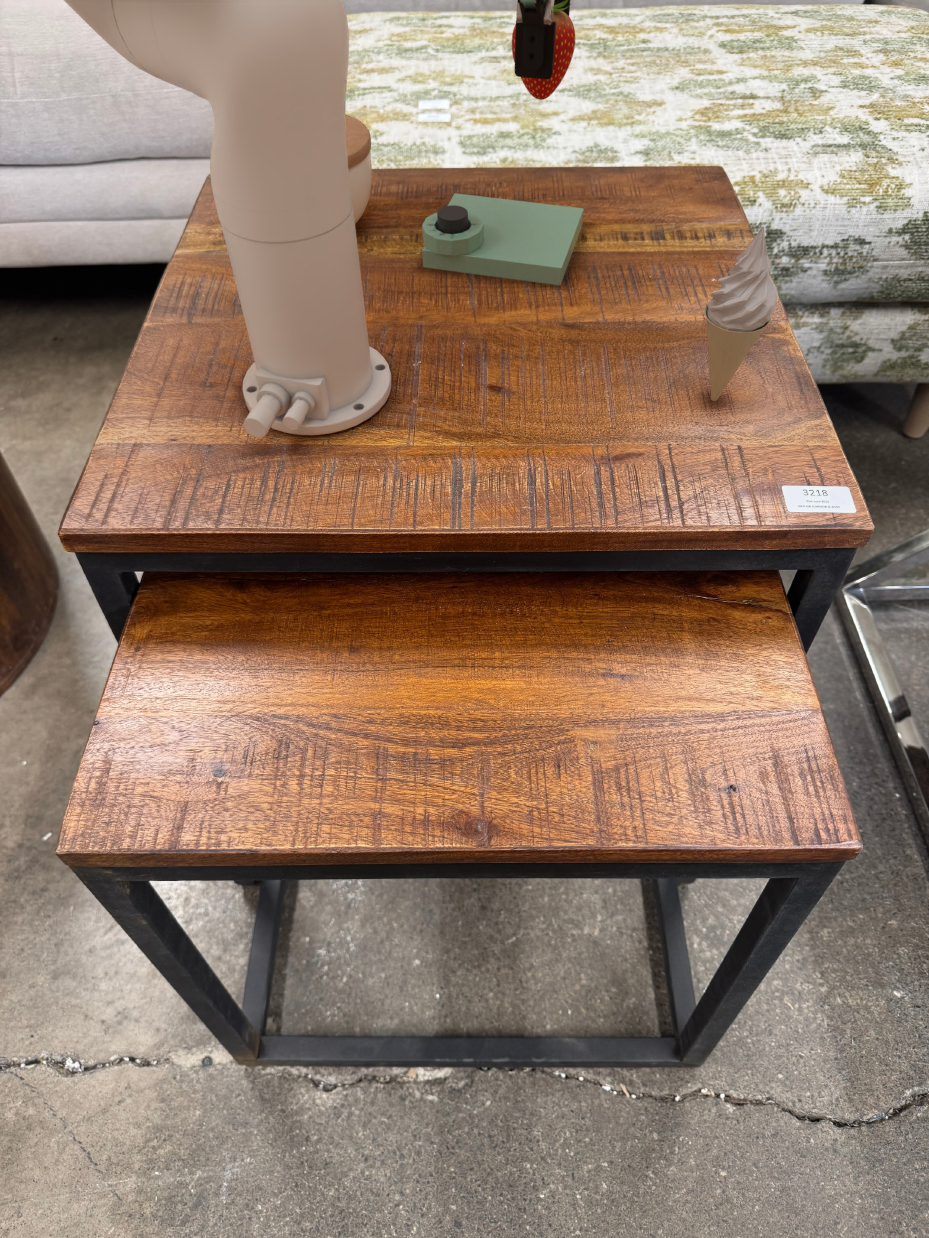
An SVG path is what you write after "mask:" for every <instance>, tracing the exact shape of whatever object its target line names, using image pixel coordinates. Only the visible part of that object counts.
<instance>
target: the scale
mask: <svg viewBox="0 0 929 1238" xmlns="http://www.w3.org/2000/svg"><path fill="white" fill-rule="evenodd" d="M450 205H456V206H461V207H464V208H465V209H466V210H467V211H468V230H467V231H465V232H463V233H457V234H446V233H442V232H440V231H438V223H437V212H438V211H436V212H434V213H432V214H430V215H428V216H426V217H425V219H424V221H423V223H422V224H421V233H422V235H421V236H422V242H423V244H424V246H423V248H422V250H421V251H422V252H421V253H422V254H421V255H422V267H423V268H425V269H433V270H440V271H448V272H455V273H463V274H470V275H478V276H486V277H494V278H500V279H506V280H507V279H508V280H515V281H522V282H530V283H539V284H545V285H552V286H553V285H554V286H561V285H562V283H563V281H564V280H563V279H564V278H565V277H564V276H565V274H566V272H567V270H568V266H569V263H570V260H571V258H572V255H573V253H574V250H575V247H576V244H577V241H578V238H579V236H580V233H581V230H582V227H583V222H584V215H585V214H584V211H585V208H583V207H576V206H575V207H574V206H567V205H566V206H565V205H557V204H548V203H540V202H532V201H524V200H516V199H507V198H499V197H497V198H496V197H489V196H481V195H472V194H466V193H465V194H464V193H454V194H453V196H452V197H451V199H450V201H449V203H448V204H447V206H450Z"/></svg>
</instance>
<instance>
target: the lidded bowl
mask: <svg viewBox="0 0 929 1238" xmlns="http://www.w3.org/2000/svg"><path fill="white" fill-rule="evenodd" d="M345 126H346V148H347V160H348V171H349V180H350V189H351V198H352V204H353V212H354V220H355V225H356V224H357V223H358V222H359V220H360V219H361V217H362V216H363V215H364V213H365V211H366V209H367V206H368V203H369V200H370V196H371V189H372V181H373V180H372V178H373V172H372V171H373V166H372V165H373V163H372V153H371V149H372V136H371V132H370V130H369V128H368V127H367V126H366V124H365V123H364V122H362V121H361V120H360V119H357V118H356V117H353V116H351V115H349V114H345Z"/></svg>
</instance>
